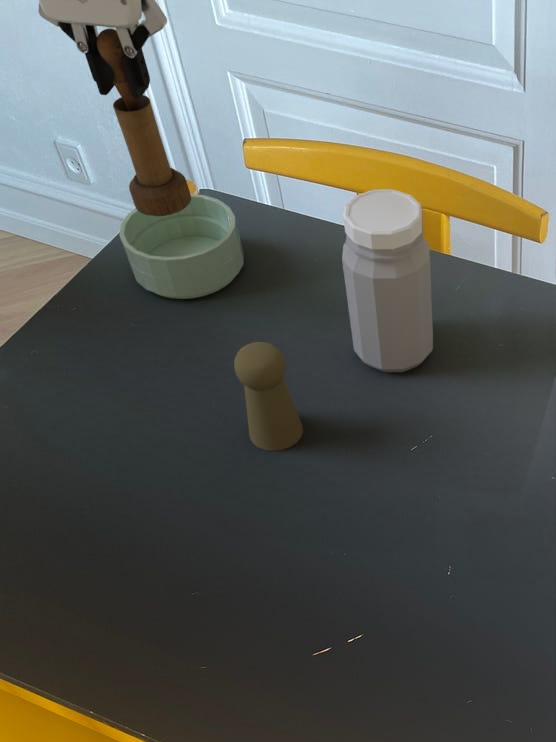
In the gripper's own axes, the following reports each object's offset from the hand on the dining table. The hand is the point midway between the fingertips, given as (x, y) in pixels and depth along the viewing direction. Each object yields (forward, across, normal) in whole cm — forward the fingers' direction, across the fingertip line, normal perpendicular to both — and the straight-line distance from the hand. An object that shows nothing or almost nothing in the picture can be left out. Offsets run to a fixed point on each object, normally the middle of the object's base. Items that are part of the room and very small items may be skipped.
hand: (124, 89), depth 95 cm
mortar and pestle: (+13, +1, 0) cm, 13 cm away
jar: (+24, +30, -8) cm, 39 cm away
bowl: (+24, 0, +4) cm, 24 cm away
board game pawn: (+24, +19, -24) cm, 39 cm away
